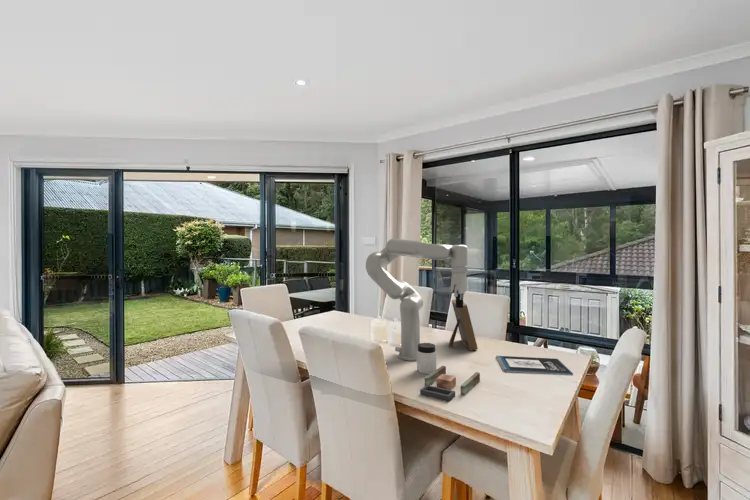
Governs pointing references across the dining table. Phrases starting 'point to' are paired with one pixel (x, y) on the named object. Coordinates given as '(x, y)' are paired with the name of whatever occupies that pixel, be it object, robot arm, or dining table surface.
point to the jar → (426, 358)
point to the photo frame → (463, 327)
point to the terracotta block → (446, 382)
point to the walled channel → (464, 387)
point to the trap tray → (437, 393)
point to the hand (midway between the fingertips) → (459, 307)
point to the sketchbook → (532, 365)
